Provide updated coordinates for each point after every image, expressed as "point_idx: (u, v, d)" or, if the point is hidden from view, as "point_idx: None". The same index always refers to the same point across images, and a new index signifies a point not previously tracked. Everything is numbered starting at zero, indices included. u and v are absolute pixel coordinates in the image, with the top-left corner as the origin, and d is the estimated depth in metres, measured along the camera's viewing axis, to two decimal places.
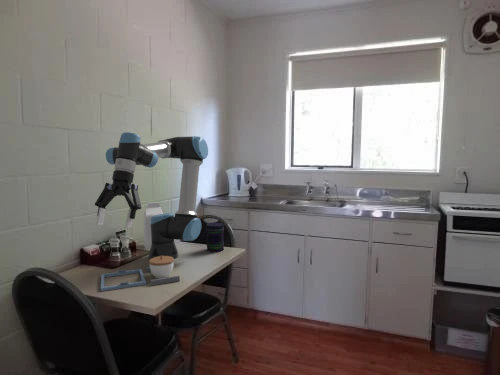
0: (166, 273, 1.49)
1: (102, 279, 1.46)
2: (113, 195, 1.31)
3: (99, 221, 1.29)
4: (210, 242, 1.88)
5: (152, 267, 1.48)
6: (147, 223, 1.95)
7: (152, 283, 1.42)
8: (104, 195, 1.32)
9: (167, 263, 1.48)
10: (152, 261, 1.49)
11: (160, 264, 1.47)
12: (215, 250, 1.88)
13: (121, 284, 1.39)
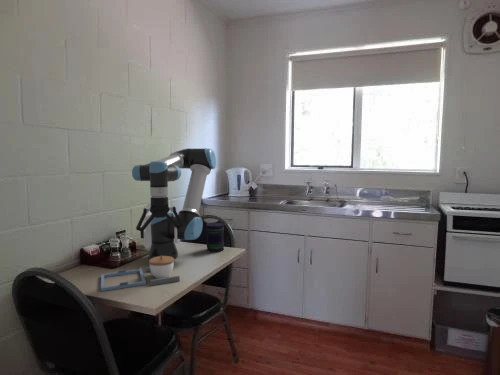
0: (166, 273, 1.49)
1: (102, 279, 1.46)
2: None
3: (145, 242, 1.47)
4: (210, 242, 1.88)
5: (152, 267, 1.48)
6: None
7: (152, 283, 1.42)
8: None
9: (167, 263, 1.48)
10: (152, 261, 1.49)
11: (160, 264, 1.47)
12: (215, 250, 1.88)
13: (121, 284, 1.39)
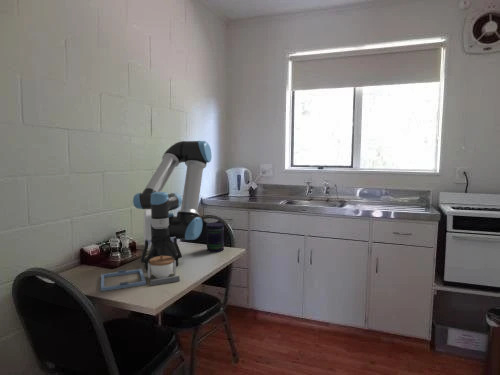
0: (166, 273, 1.49)
1: (102, 279, 1.46)
2: None
3: (149, 274, 1.50)
4: (210, 242, 1.88)
5: (152, 267, 1.48)
6: (147, 223, 1.95)
7: (152, 283, 1.42)
8: None
9: (167, 263, 1.48)
10: (152, 261, 1.49)
11: (160, 264, 1.47)
12: (215, 250, 1.88)
13: (121, 284, 1.39)
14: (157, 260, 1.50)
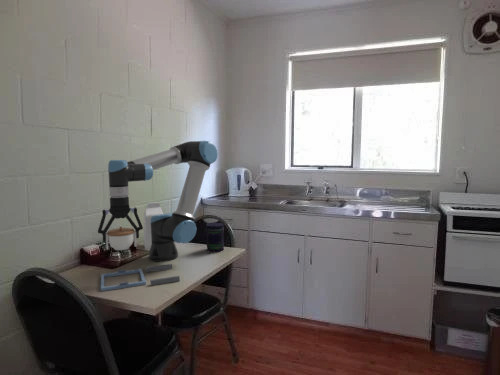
0: (125, 244, 1.42)
1: (102, 279, 1.46)
2: (113, 219, 1.44)
3: None
4: (210, 242, 1.88)
5: (110, 238, 1.41)
6: (147, 223, 1.95)
7: (152, 283, 1.42)
8: None
9: (126, 234, 1.41)
10: (110, 232, 1.42)
11: (118, 235, 1.40)
12: (215, 250, 1.88)
13: (121, 284, 1.39)
14: (116, 231, 1.43)
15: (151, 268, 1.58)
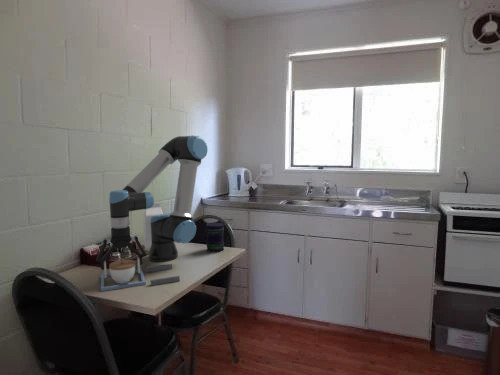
0: (126, 278, 1.44)
1: (102, 279, 1.46)
2: None
3: (106, 274, 1.44)
4: (210, 242, 1.88)
5: (111, 271, 1.43)
6: (147, 223, 1.95)
7: (152, 283, 1.42)
8: (103, 250, 1.43)
9: (127, 267, 1.43)
10: (112, 265, 1.44)
11: (119, 268, 1.42)
12: (215, 250, 1.88)
13: (121, 284, 1.39)
14: (117, 264, 1.45)
15: (151, 268, 1.58)
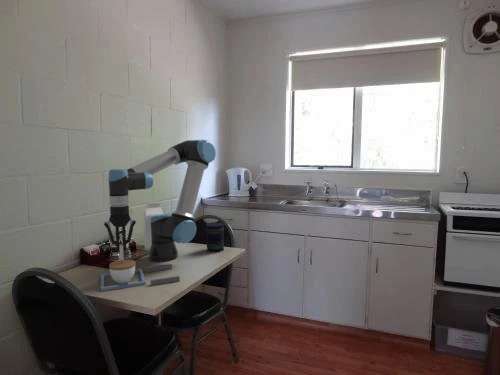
0: (126, 278, 1.44)
1: (102, 279, 1.46)
2: None
3: None
4: (210, 242, 1.88)
5: (111, 271, 1.43)
6: (147, 223, 1.95)
7: (152, 283, 1.42)
8: (111, 232, 1.44)
9: (127, 267, 1.43)
10: (112, 265, 1.44)
11: (119, 268, 1.42)
12: (215, 250, 1.88)
13: (121, 284, 1.39)
14: (117, 264, 1.45)
15: (151, 268, 1.58)
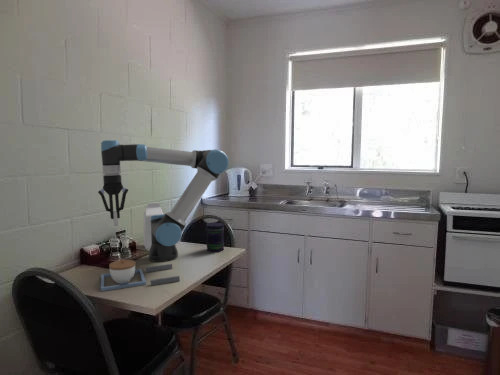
0: (126, 278, 1.44)
1: (102, 279, 1.46)
2: (112, 196, 1.55)
3: None
4: (210, 242, 1.88)
5: (111, 271, 1.43)
6: (147, 223, 1.95)
7: (152, 283, 1.42)
8: (105, 200, 1.53)
9: (127, 267, 1.43)
10: (112, 265, 1.44)
11: (119, 268, 1.42)
12: (215, 250, 1.88)
13: (121, 284, 1.39)
14: (117, 264, 1.45)
15: (151, 268, 1.58)
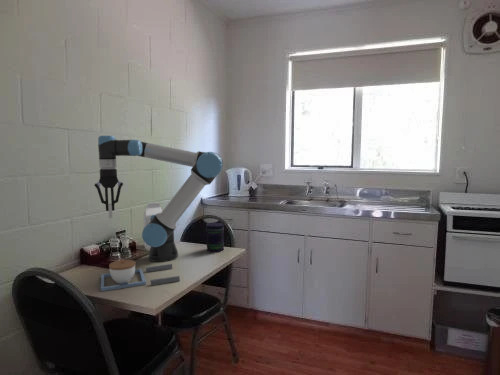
0: (126, 278, 1.44)
1: (102, 279, 1.46)
2: (107, 189, 1.62)
3: None
4: (210, 242, 1.88)
5: (111, 271, 1.43)
6: (147, 223, 1.95)
7: (152, 283, 1.42)
8: None
9: (127, 267, 1.43)
10: (112, 265, 1.44)
11: (119, 268, 1.42)
12: (215, 250, 1.88)
13: (121, 284, 1.39)
14: (117, 264, 1.45)
15: (151, 268, 1.58)
